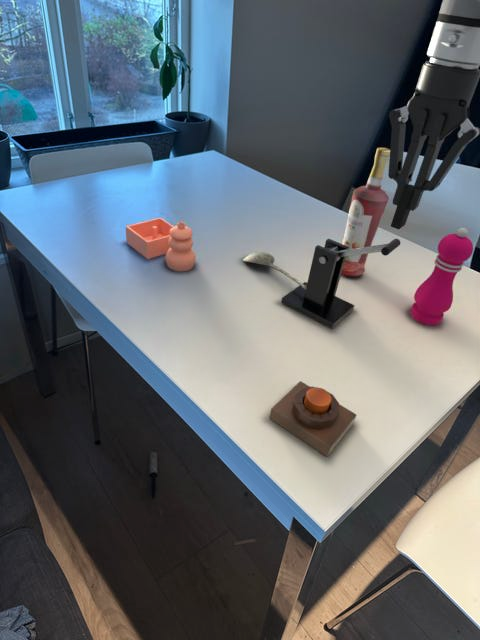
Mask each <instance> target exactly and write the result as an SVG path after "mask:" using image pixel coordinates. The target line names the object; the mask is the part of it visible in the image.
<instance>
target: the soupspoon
mask: <svg viewBox="0 0 480 640" xmlns="http://www.w3.org/2000/svg"><path fill="white" fill-rule="evenodd" d="M242 261H243V262H247V263H253V264H257V265H263V266H267V267H270V268H273V269H274V270H277V271H278V272H280V273H282V274H283V275H285V276H286V277H288V278H289V279H290V280H292V281H293V282H295V283H297V285H298V286H300V285H301V286H302V287H303V289H305V291H306V285H304V284H303V282H301V281H300V280H298V279H297V278H296V277H294V276H293V275H292V274H290V273H288V272H287V271H286V270H284V269H282V268H281V267H279V266H277V265H275V264H274V263H275V257H274V255H272V254H270V253H268V252H264V251H263V252H262V251H258V252H253V253H249V254H248V255H247V256H245V257H244V258H243V259H242Z"/></svg>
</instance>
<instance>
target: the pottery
mask: <svg viewBox="0 0 480 640" xmlns="http://www.w3.org/2000/svg"><path fill="white" fill-rule="evenodd" d="M193 234H194V233H193V230H192V229H191V228H190V227H188V226H187V225H186V222H183V221H179V222H177V225H175V226H174V225H173V224H171V223H169V222H168V221H167V220H165V219H163V218H162V217H157V218H153V219H149V220H146V221H145V220H144V221H141V222H137V223H133V224H129V225H125V241H126V244H128V246H130V247H131V248H133V249H134V250H135V251H136V252H138V253H139V254H140V255H142V257H144V258H145V259H147V260H150V259H153V258H156V257H159V256H163V255H165V262H166V266H167V268H168V269H170V270H172V271H175V272H187V271H190V270H191V269H193V268H194V266H195V263H196V253H195V251H194V250H193V249H192V248H193V245H194V240H193V238H192V236H193Z"/></svg>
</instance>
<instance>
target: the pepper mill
mask: <svg viewBox="0 0 480 640" xmlns="http://www.w3.org/2000/svg"><path fill="white" fill-rule="evenodd" d="M468 233H469V231H468V229H467V228H466V227H460V228H458V229H457V230H456V233H449V234H446V235H445V236H443V237H442V238H441V240H440V241H439V242H438V244H437V252H438V254H437V255H436V257H435V259H434V265H435V266H434V268H433V270H432V273H430V275H429V276H428V277H427V278H426V279H425V280H424V281H423V282H422V283H420V285H419V286H418V287H417V289H416V290H415V292H414V295H413V299H414V302H413V304H412V306H411V308H410V311H409V313H410V316H411V317H412V318H413V319H414V321H417V323H421V324H423V325H425V326H438V325H440V324H441V322H442V321H443V318H444V316H445V314H444V313H446V312H448V311H449V310H450V309H451V307H452V305H453V302H454V291H453V288H454V281H455V278H456V276H457V275H458V273H459V272H461V271H462V269H463V267H464V266H465V265H464V264H465V262H466V261H468V260H469V259H470V258H471V257H472V254H473V253H474V245H473V242H472V240H471V239H470V238H469V237H468V236H467V235H468Z"/></svg>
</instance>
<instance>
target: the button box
mask: <svg viewBox="0 0 480 640" xmlns="http://www.w3.org/2000/svg"><path fill="white" fill-rule="evenodd" d="M311 388H318V386H317V387H316V386H311V385H308V384H306V383H304V382H303V381H298V383H296V384H295V385H294V386H293V387H292V388H291V389H290V390H289V391H288V392H287V393H286V394H285V395H284V396H283V397H281V399H280V400H279V401H278V402H277V403H276V404H275V405H273V407H272V408H271V409H270V413H269V420H271V421H272V422H274V423H275V424H277V425H278V426H280V427H281V428H282V429H284V430H286V431H288V432H289V433H290V434H292V435H294V436H295V437H296V438H298V439H300V440H301V441H302V442H304V443H305V444H307V445H309V446H310V447H311V448H313V449H314V450H316V451H317V452H319V453H320V454H321V455H323V456H325V457H329V456H330V454H331V453H332V452H333V450H334V449H335V448H336V446H337V445H338V444H339V442H341V440H342V439H343V437H345V435H346V434H347V433H348V432H349V430H350V429H351V428H352V426H353V425H354V423H355V421H356V418H357V414H356V413H355V412H353V411H351V410H350V409H348V408H347V407H345V406H343V405H341V404H340V403H339V401H338V400H337V398H336V397H335V395H334V394H333V393H331V392H330V391H328V390H326V391H327V392H328V393H329V394H330V396H331V403H330V406H329V409H328V411H327V412H325V413H323V414H315V413H312V412H310V411H309V410H308V409H307V408H306V407H305V405H304V400H305V397H306V393H307V391H308V390H309V389H311ZM320 388H321V389H323V388H322V387H320Z"/></svg>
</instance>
